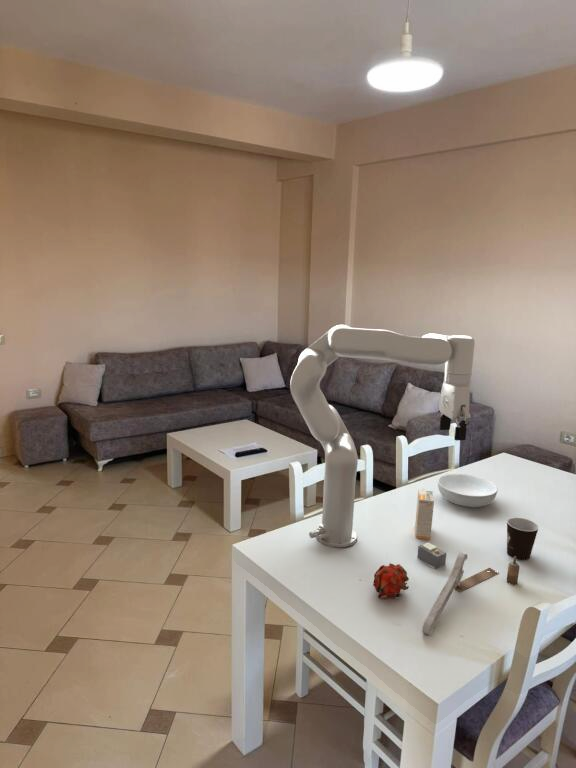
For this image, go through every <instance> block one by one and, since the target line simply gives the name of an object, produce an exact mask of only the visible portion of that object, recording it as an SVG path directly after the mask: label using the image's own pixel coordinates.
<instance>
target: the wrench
mask: <svg viewBox="0 0 576 768" xmlns="http://www.w3.org/2000/svg"><path fill="white" fill-rule="evenodd" d="M467 560H468V554H467V553H463V552H461V551H460V552H459V553H458V554H457V556H456V559H455V562H454V563H453V568H452V570H451V572H450V575H449V576H448V579H447V581H446V582H445V584H444V586H443V588H442V589H441V591H440V593H439V595H438V597H437V599H436V600H435V602H434V604H433V606H432V607H431V608H430V611H429V613H428V614H427V616H426V618H425V620H424V622H423V625H422V629H421V632H422V633H423V634H425V635H428V636H431V635H432V632H433V630H434V629H435V626H436V625H437V623H438V621H439V619H440V617H441V615H442V613H443V611H444V609H445V608H446V606H447V603H448V601H450V598H451V596H452V594H453V593H454V590H455V588H456V587H457V586H458V587H460V581H462V579H463V576H464V571H465V569H464V565H465V561H467Z"/></svg>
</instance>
